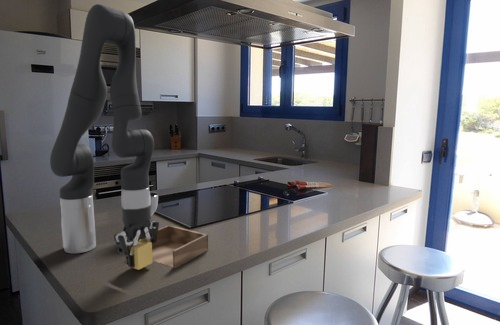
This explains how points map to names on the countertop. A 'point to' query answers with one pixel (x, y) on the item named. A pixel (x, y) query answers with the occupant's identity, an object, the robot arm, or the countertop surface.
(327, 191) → the countertop surface
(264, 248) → the countertop surface
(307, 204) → the countertop surface
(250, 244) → the countertop surface
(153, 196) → the wine glass
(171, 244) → the box
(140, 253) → the block
